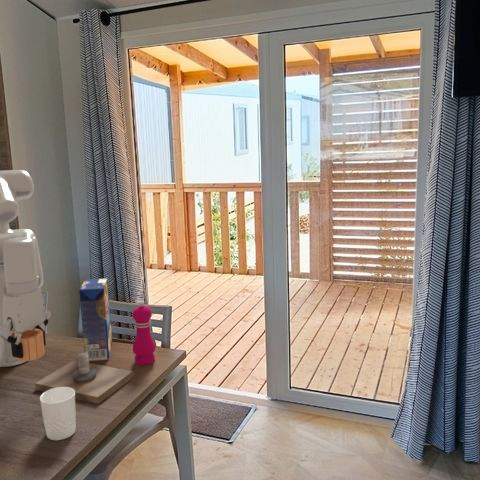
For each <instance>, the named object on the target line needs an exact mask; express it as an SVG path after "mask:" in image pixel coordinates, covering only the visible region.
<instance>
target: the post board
mask: <svg viewBox="0 0 480 480" xmlns="http://www.w3.org/2000/svg"><path fill="white" fill-rule="evenodd" d="M133 378H134V373H133V371H132V370H127V369H122V368H121V369H120V368H118V367H117V368H116V367H112V366H106V365H101V364H95V363H90V361H89V355H88V353H85V352H80V353H78V354H77V360H76V359H75V360H72V361H70V362H69V363H67V364H65V365H63V366H61V367H60V368H58V369H57V370H55V371H53V372H51V373H50V374H48V375H47V376H45V377H43V378H41V379H39V380H38V381H36V382H35V384H34V385H35V390H37V391H40V392H43V393H44V392H46V391H48V390H50V389H53V388H57V387H70V388H72V389H74V391H75V400H80V401H85V402H88V403H94V404H97V405H99V404H101V403H102V401H105V399H107V398H108V397H109V396H111V395H112V394H113V393H115V392H116V391H118V390H119V389H120V388H121V387H122V386H124V385H125V384H126V383H128V382H129V381H130V380H132V379H133Z"/></svg>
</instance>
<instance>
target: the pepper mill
mask: <svg viewBox="0 0 480 480" xmlns="http://www.w3.org/2000/svg"><path fill="white" fill-rule="evenodd" d="M152 314H153V312H152V309H151V307H150V306H147V305H145V302H144V301H142V300H141V301H139V302H138V306H136V307H134V309H133V310H132V319H133V320H134V327H135V329H136V336H135V339H134V341H133V344H132V352H133V354H134V355H135V356H134V362H135V364H136V365H140V366H146V365H151V364H153V363H154V362H155V361H156V360H155V359H156V358H155V351H156V348H157V347H156V342H155V340H154V339H153V336H152V334H151V330H150V326H151V324H152V323H151V318H152V317H153V316H152Z"/></svg>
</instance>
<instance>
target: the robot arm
mask: <svg viewBox="0 0 480 480" xmlns="http://www.w3.org/2000/svg"><path fill="white" fill-rule="evenodd" d="M34 191H35V185H34V181H33V177H32V176H31V175H30V173H29V172H28V171H26V170H23V169H9V170H6V169H5V170H0V368H6V367H14V366H17V365H22V364H24V363H26V362H27V361H18V360H16V358H15V357H17V358H23V347H22V343H20V340H21V336H22V333H23V332H25V331H27V330H29V329H33V328H36V329H40V330H42V331H43V340H44V347H45V346H46V345H47V344H46V334H45V333H46V331H47V325H48V323H49V319H50V318H51V315H52V311H50V310H48V309H46V306H45V301H44V297H43V292H42V289H41V287H43V285H44V273H43V267H42V260H41V255H40V250H39V249H40V248H39V245H38V243H39V242H38V239H37V236H36V234H35V233H34V231H33V230H31V229H30V228H18V229H17V228H16V229H11V227H10V224H9V223H11V222H12V221H14V220H15V219H16V218H17V217H18V215H19V212H20V207H19V204H18V201H23V200H28V199H30V198H32V196H33V194H34ZM15 333H16V334H17V335H16V338H14V336H15Z"/></svg>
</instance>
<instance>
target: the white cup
mask: <svg viewBox="0 0 480 480" xmlns="http://www.w3.org/2000/svg"><path fill="white" fill-rule="evenodd" d="M39 403H40V406H41V407H40V408H41V414H42V421H43V426H44V428H45V434H46V438H47V439H49V440H51V441H60V440H65V439H68V438H71V436H73V435H74V434H75V432H76V429H77V426H76V425H77V423H76V420H77V419H76V418H77V416H76V414H77V413H76V407H77V406H76V399H75V391H74V389H72V388H70V387H57V388H53V389H50V390H48V391H46V392H44V391H43V392H42V394H41V395H40V396H39Z"/></svg>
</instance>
